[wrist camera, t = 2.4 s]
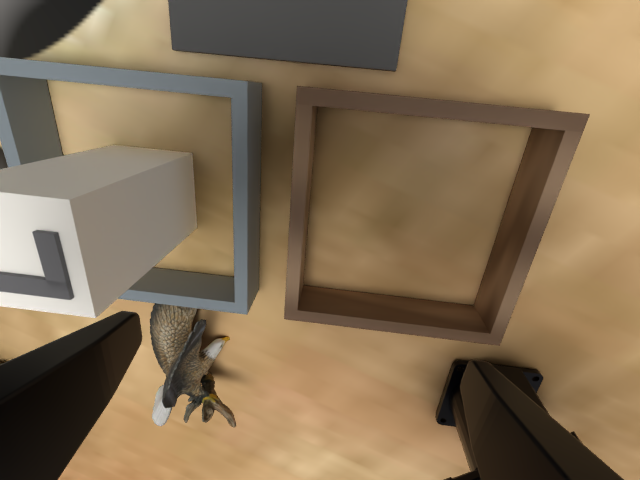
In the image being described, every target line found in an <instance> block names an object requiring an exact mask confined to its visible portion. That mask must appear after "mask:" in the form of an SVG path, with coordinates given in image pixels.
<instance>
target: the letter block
mask: <svg viewBox="0 0 640 480" xmlns="http://www.w3.org/2000/svg"><path fill="white" fill-rule="evenodd" d="M195 229H197V215H196V200H195V184H194V169H193V154H192V153H188V152H179V151H169V150H160V149H150V148H141V147H131V146H122V145H110V146H105V147H101V148H96V149H92V150H87V151H82V152H78V153H73V154H69V155H64V156H59V157H55V158H50V159H46V160H41V161H36V162H32V163H27V164H23V165H18V166H14V167H9V168H4V169H0V306H3V307H11V308H19V309H27V310H35V311H43V312H51V313H59V314H68V315H76V316H84V317H92V318H96V317H97V316H99V315H100V314H101V313H102V312H103V311H104V310H105V309H106V308H108V307H109V306H110V305H111V304H112V303H113V302H114V301H115V300H117V299H118V298H119V297H120V296H121V295H122V294H123V293H124V292H126V291H127V290H128V289H129V288H130V287H131V286H132V285H133V284H135V283H136V282H137V281H138V280H139V279H140V278H141V277H142V276H144V275H145V274H146V273H147V272H148V271H149V270H150V269H151V268H153V267H154V266H155V265H156V264H157V263H158V262H159V261H160V260H162V259H163V258H164V257H165V256H166V255H167V254H168V253H169V252H171V251H172V250H173V249H174V248H175V247H176V246H177V245H178V244H180V243H181V242H182V241H183V240H184V239H185V238H186V237H187V236H189V235H190V234H191V233H192V232H193V231H194V230H195Z"/></svg>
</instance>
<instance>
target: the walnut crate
mask: <svg viewBox="0 0 640 480" xmlns="http://www.w3.org/2000/svg"><path fill="white" fill-rule="evenodd" d="M318 106H321V107H331V108H341V109H351V110H362V111H372V112H382V113H392V114H402V115H412V116H422V117H432V118H442V119H453V120H463V121H473V122H483V123H493V124H503V125H513V126H523V127H533V128H532V131H531V134H530V137H529V140H528V143H527V146H526V149H525V152H524V155H523V158H522V161H521V164H520V167H519V170H518V173H517V176H516V179H515V183H514V186H513V189H512V192H511V195H510V198H509V201H508V204H507V207H506V210H505V213H504V216H503V219H502V222H501V225H500V228H499V231H498V234H497V237H496V240H495V243H494V246H493V249H492V252H491V255H490V258H489V261H488V264H487V267H486V270H485V273H484V276H483V279H482V283H481V286H480V289H479V292H478V295H477V298H476V301H475V304H474V306H472V305H464V304H455V303H447V302H439V301H430V300H422V299H413V298H405V297H397V296H388V295H380V294H372V293H363V292H355V291H346V290H338V289H330V288H321V287H313V286H304V285H303V283H304V270H305V258H306V245H307V233H308V220H309V208H310V195H311V183H312V170H313V158H314V145H315V133H316V120H317V107H318ZM589 115H590V114H582V113H571V112H561V111H551V110H540V109H530V108H520V107H509V106H499V105H489V104H478V103H468V102H458V101H447V100H437V99H427V98H416V97H406V96H396V95H385V94H375V93H365V92H354V91H344V90H334V89H323V88H313V87H303V86H297V97H296V115H295V133H294V151H293V169H292V187H291V205H290V223H289V241H288V259H287V277H286V295H285V313H284V319H287V320H296V321H304V322H312V323H320V324H328V325H336V326H344V327H352V328H361V329H369V330H377V331H385V332H393V333H401V334H409V335H417V336H425V337H434V338H442V339H450V340H458V341H466V342H474V343H482V344H490V345H499V346H500V343H501V341H502V338H503V336H504V333H505V331H506V328H507V325H508V323H509V320H510V318H511V315H512V313H513V310H514V307H515V305H516V302H517V300H518V297H519V295H520V292H521V290H522V287H523V284H524V282H525V279H526V277H527V274H528V272H529V269H530V266H531V264H532V261H533V259H534V256H535V254H536V251H537V248H538V246H539V243H540V241H541V238H542V236H543V233H544V231H545V228H546V225H547V223H548V220H549V218H550V215H551V213H552V210H553V207H554V205H555V202H556V200H557V197H558V195H559V192H560V190H561V187H562V184H563V182H564V179H565V177H566V174H567V172H568V169H569V166H570V164H571V161H572V159H573V156H574V154H575V151H576V149H577V146H578V143H579V141H580V138H581V136H582V133H583V131H584V128H585V125H586V123H587V120H588V118H589Z"/></svg>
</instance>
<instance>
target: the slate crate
mask: <svg viewBox="0 0 640 480" xmlns="http://www.w3.org/2000/svg"><path fill="white" fill-rule="evenodd" d="M46 79H48V80H58V81H68V82H78V83H88V84H98V85H109V86H119V87H129V88H139V89H149V90H159V91H169V92H179V93H190V94H200V95H210V96H220V97H230V98H231V113H232V171H233V229H234V277H229V276H220V275H212V274H204V273H195V272H187V271H178V270H170V269H162V268H151V269H150V270H149V271H148V272H147V273H146V274H145V275H144V276H142V277H141V278H140V279H139V280H138V281H137V282H136V283H135V284H133V285H132V286H131V287H130V288H129V289H128V290H127V291H126V292H124V293H123V294H122V295H121V296H120V297H119V298H118V299H125V300H133V301H141V302H149V303H158V304H166V305H174V306H182V307H190V308H198V309H206V310H214V311H223V312H231V313H239V314H248V312H249V310H250V307H251V305H252V303H253V301H254V299H255V297H256V294H257V292H258V290H259V245H260V186H261V127H262V83H258V82H250V81H241V80H230V79H220V78H210V77H199V76H189V75H179V74H168V73H158V72H148V71H138V70H127V69H117V68H107V67H96V66H86V65H76V64H65V63H55V62H45V61H34V60H24V59H13V58H3V57H0V141H1V144H2V148H3V151H4V154H5V158H6V161H7V164H8V168H9V167H14V166H18V165H23V164H27V163H32V162H36V161H41V160H46V159H50V158H55V157H59V156H63V154H62V149H61V145H60V140H59V136H58V131H57V127H56V122H55V118H54V113H53V108H52V104H51V99H50V95H49V90H48V86H47V81H46Z"/></svg>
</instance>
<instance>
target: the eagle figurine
mask: <svg viewBox="0 0 640 480" xmlns="http://www.w3.org/2000/svg"><path fill="white" fill-rule="evenodd" d="M196 311H197V308H190V307H182V306H174V305H166V304H158V303H155V305H154V306H153V311H152V312H151V319H150V325H151V326H150V334H151V336H152V337H151V340H152V346H153V350H154V353H155V355H156V358H157V360H158V363H159V364H160V367H161V368H162V369H163V372H164V373H165V374H166V380H165V383H164V385H162V386H161V387H160V388H159V389H158V391H157V393H156V398H155V403H154V407H153V414H152V419H153V420H154V423H155V424H157V425H158V426H162V425H164V424H165V423H166V421H167V420H168V418H169V415H170V413H171V410H172V407H174V406H175V404H176V401H177V398H178V397H179V396H180V395H181V394H186V395H189V396H190V398H189V399H188V401H189V402H190V401H192V403H190V404H189V405H187V407H186V412H185V415H184V421H185V423H186V422H187V421H188V419H189V416H190V414H191V413H192V412H193V411H194V410H195V409H196V408H197V407H199V406H200V405H201V403H203V408H202V421H203V422H208V421H209V420H210V419H211V417H212V416H213V413H214V410H217V411H218V412H220V413H221V414H222V415H223V416H224V417H225V418H226V419H227V421H228V423H229V424H230V426H231V427H235V426H236V422H235V418H234V415H233V413H232V411H231V410H230V409H229V408H228V407H227V406H226V405H224V404H223V403H222V402H221V400H220V399H219V398H218V396H217V394H216V392H215V390H214V384H215V381H214V377H213V376H212V375H211V373H208V374H207V375H205V373H206V372H207V371H208V370H209V368H210V367H211V365H212V363H213V361H214V360H215V358H216V356H217V355H218V353H219V352H220V350H221V349H222V347H223V345H224V344H225V342H226V341H228V340H230V338H229V337H224V338H220V339H219V338H218V339H215V340H214V341H213V342H212V343H211V344H210V345H208V346H207V347H206V348H205V349H204V350H202V351H201V352H199V350H200V347H201V344H202V338H201V337H202V334H203V332H204V330H205V327H206V320H205V319H204V320H202V319H201V320H200V321H198V322H197V323H196V324H195V327H194V329H193V331H192V323H193V319H194V316H195V314H196ZM201 383H202V386H201Z"/></svg>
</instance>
